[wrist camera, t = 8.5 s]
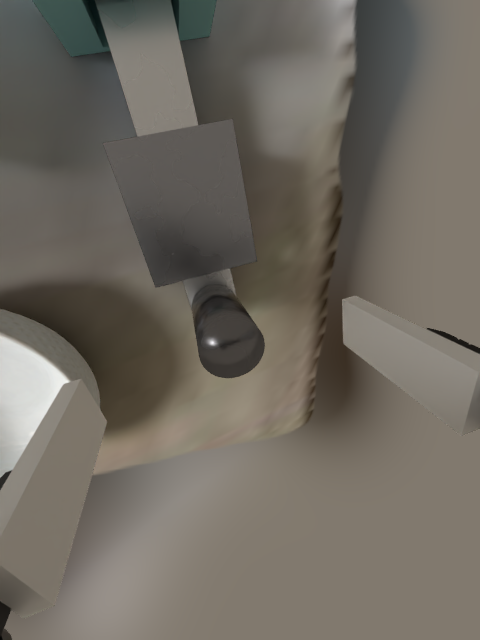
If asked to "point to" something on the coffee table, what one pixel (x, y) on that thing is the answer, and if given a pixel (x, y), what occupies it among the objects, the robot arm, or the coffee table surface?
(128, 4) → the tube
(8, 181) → the coffee table surface
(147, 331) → the coffee table surface
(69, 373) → the cereal bowl
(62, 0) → the socket
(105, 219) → the coffee table surface
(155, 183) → the sleeve
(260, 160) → the coffee table surface
